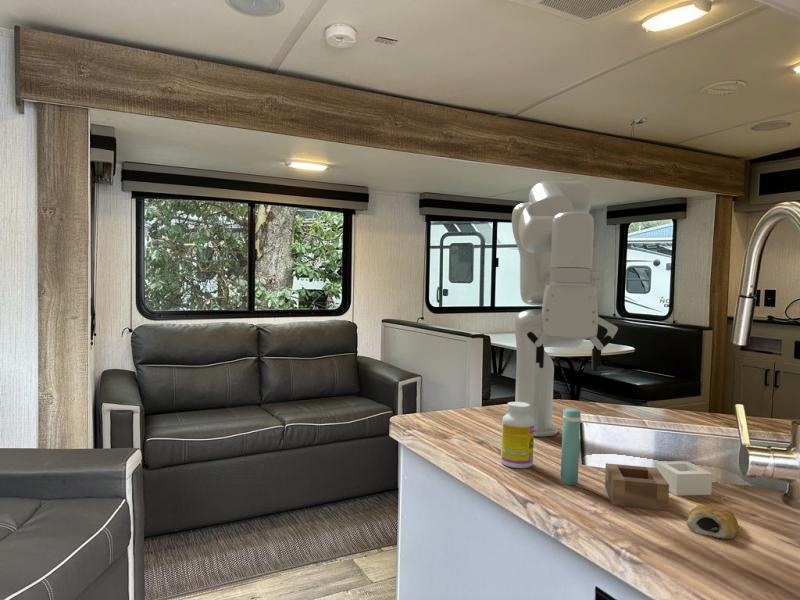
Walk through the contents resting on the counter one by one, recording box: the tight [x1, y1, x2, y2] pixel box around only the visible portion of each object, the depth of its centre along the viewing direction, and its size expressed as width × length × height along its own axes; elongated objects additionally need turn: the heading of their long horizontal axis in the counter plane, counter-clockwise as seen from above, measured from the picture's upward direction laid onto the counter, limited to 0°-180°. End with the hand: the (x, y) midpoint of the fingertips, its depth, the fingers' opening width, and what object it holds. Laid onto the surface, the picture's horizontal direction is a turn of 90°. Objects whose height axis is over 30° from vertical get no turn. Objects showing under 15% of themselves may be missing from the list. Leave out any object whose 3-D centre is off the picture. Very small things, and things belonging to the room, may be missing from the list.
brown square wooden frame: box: [604, 463, 670, 512], centre depth 100 cm, size 9×9×4 cm
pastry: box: [685, 504, 739, 540], centre depth 89 cm, size 9×7×4 cm
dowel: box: [560, 408, 582, 486], centre depth 107 cm, size 3×3×14 cm
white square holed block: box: [654, 460, 713, 497], centre depth 106 cm, size 7×7×4 cm
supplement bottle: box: [500, 401, 535, 469], centre depth 117 cm, size 7×7×13 cm
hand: (567, 368), depth 105 cm, fingers open, 9 cm apart
